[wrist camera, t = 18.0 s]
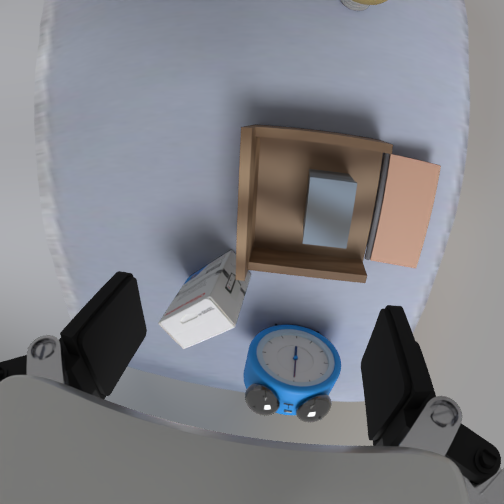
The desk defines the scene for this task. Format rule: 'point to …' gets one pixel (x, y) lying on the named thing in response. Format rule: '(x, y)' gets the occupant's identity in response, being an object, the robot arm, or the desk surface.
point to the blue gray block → (328, 208)
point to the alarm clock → (291, 372)
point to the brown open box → (301, 200)
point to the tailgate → (402, 210)
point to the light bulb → (360, 4)
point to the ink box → (206, 303)
